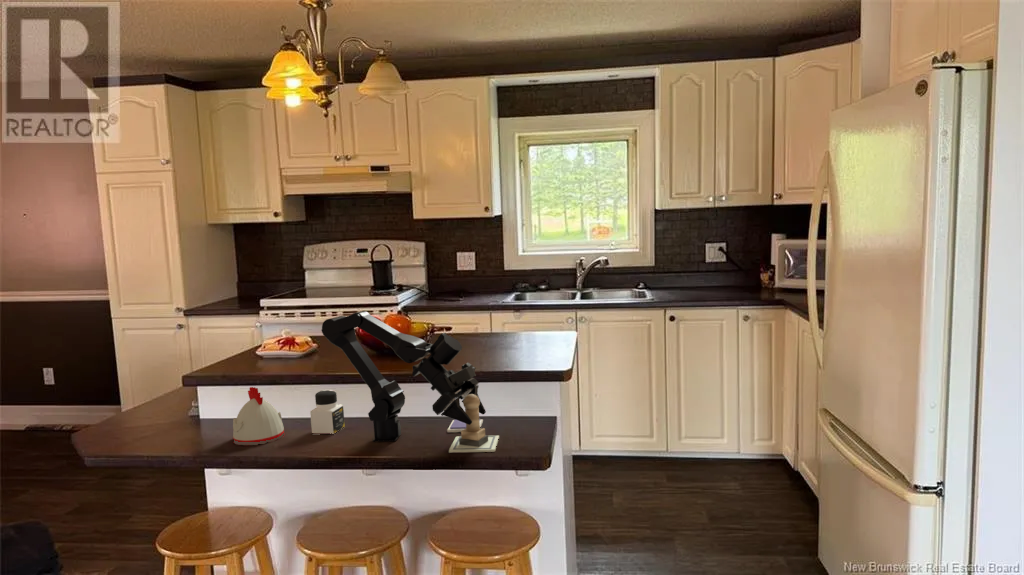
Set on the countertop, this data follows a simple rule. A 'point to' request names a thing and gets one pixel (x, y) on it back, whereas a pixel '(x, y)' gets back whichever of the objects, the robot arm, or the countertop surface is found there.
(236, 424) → the kitchen timer
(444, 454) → the countertop surface
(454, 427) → the ink pad
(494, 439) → the marked board
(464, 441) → the hand stamp
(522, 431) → the countertop surface
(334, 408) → the medicine bottle
